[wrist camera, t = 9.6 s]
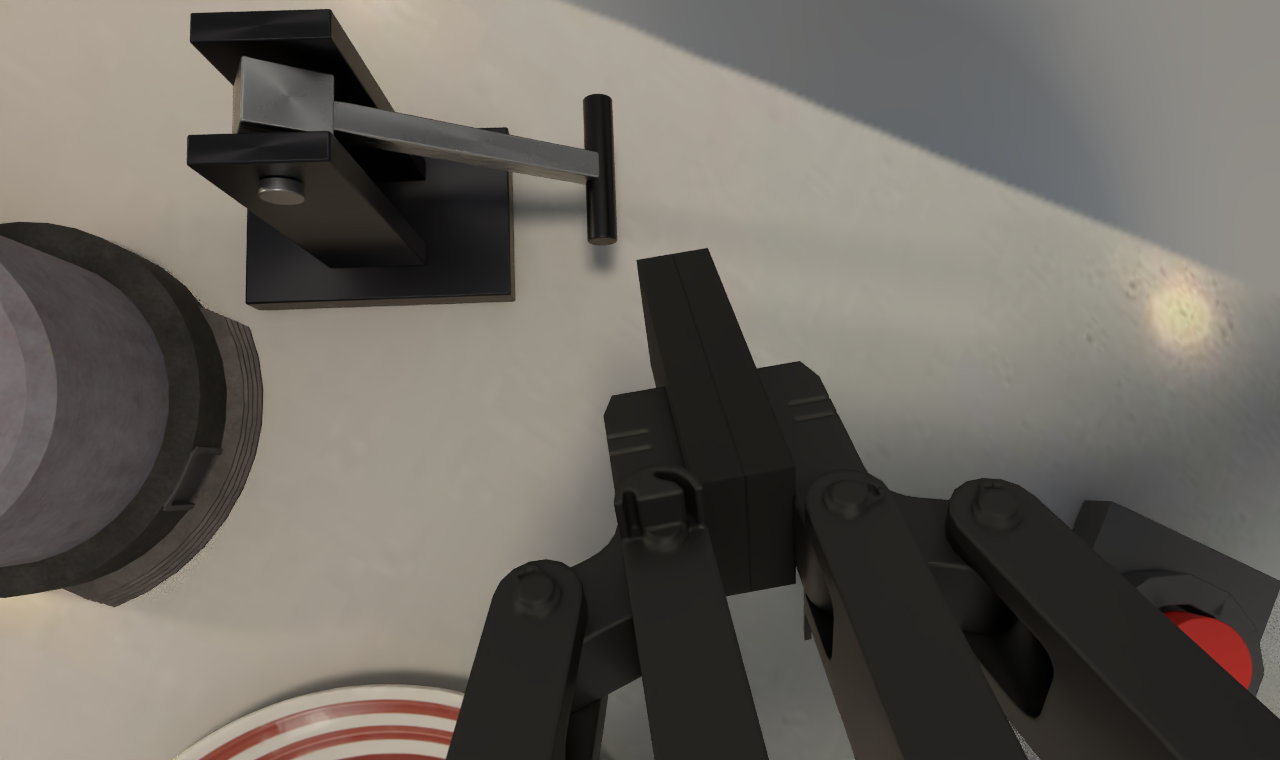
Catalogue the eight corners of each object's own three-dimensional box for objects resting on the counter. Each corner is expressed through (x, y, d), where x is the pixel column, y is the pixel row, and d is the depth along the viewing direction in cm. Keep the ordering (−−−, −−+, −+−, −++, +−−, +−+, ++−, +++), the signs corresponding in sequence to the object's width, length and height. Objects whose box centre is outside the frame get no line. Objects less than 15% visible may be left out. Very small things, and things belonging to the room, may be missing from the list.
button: (1153, 595, 34) (1180, 601, 33) (1234, 634, 34) (1266, 642, 32) (1121, 677, 34) (1147, 687, 32) (1202, 716, 34) (1234, 729, 32)
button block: (1084, 499, 38) (1136, 501, 34) (1245, 576, 38) (1317, 587, 34) (1001, 703, 37) (1045, 729, 33) (1166, 783, 37) (1231, 820, 33)
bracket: (511, 138, 40) (451, -40, 26) (515, 301, 39) (454, 203, 25) (261, 146, 40) (68, -29, 26) (258, 310, 39) (57, 216, 25)
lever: (596, 114, 36) (624, 91, 34) (601, 250, 35) (630, 235, 33) (234, 33, 28) (242, -4, 26) (230, 203, 28) (238, 179, 25)
